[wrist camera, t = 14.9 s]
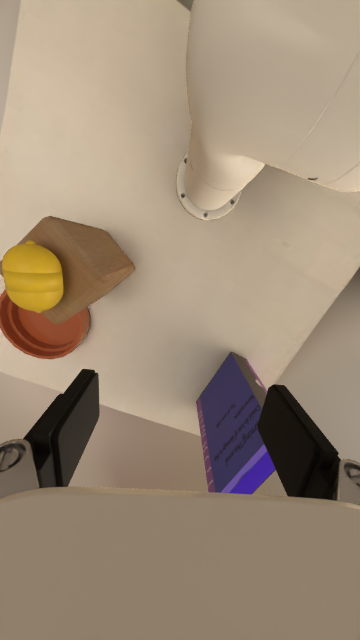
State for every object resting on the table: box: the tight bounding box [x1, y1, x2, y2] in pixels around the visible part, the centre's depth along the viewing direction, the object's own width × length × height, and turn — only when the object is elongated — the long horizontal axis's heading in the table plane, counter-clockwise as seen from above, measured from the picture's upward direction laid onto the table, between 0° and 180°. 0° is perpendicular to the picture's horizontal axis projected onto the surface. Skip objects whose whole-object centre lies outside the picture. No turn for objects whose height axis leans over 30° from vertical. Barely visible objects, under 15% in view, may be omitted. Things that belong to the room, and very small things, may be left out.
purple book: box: [196, 352, 276, 494], centre depth 43 cm, size 17×5×24 cm, turn 151°
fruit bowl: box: [0, 290, 90, 359], centre depth 45 cm, size 17×17×4 cm
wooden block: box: [0, 216, 135, 324], centre depth 34 cm, size 10×10×20 cm
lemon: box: [2, 240, 63, 313], centre depth 22 cm, size 8×5×5 cm
